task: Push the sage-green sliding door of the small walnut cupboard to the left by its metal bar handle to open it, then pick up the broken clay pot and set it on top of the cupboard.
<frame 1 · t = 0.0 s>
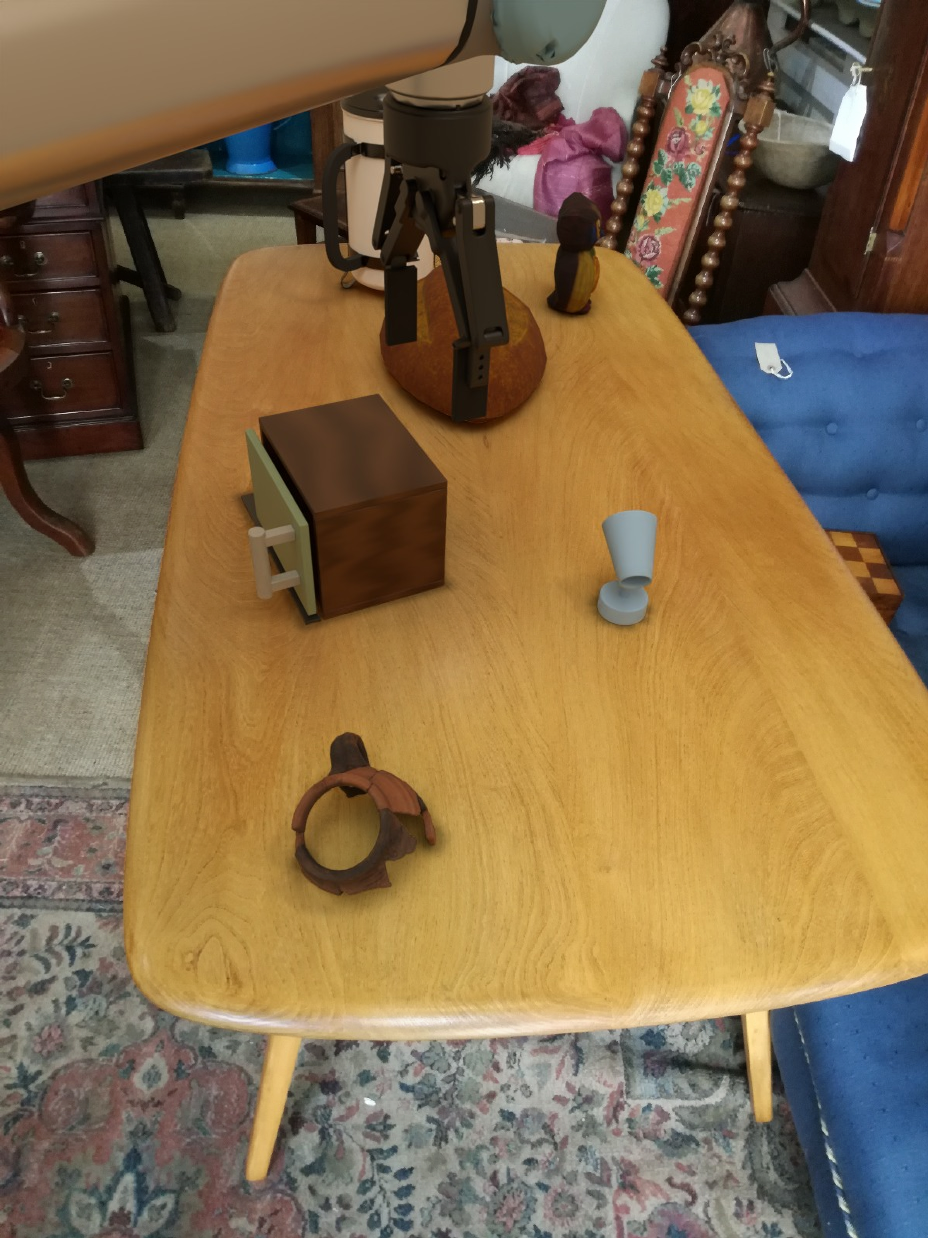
hand: (433, 377, 77), 20 cm above the table, tool pointing down, fingers open, 13 cm apart
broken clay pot: (364, 839, 68), on the table
coffee press: (388, 290, 136), on the table
sliding door: (259, 524, 84), point 6 cm above the table, slide at 0.0 cm
cupboard: (354, 552, 91), on the table
figurine: (570, 309, 134), on the table
spotlight: (620, 607, 87), on the table
bread: (461, 368, 120), on the table
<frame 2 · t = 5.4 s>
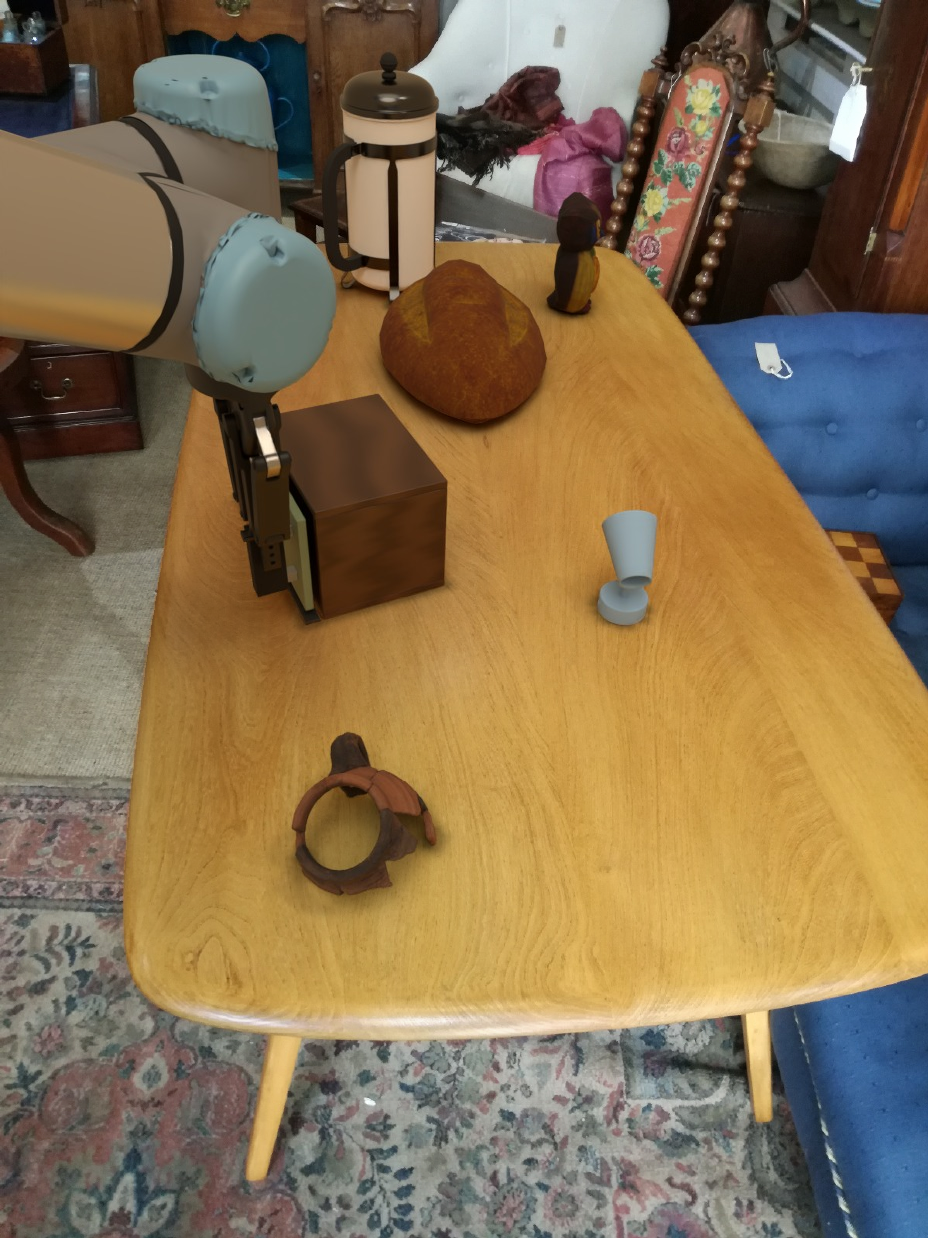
hand: (271, 587, 79), 6 cm above the table, tool pointing down, fingers closed
sliding door: (257, 520, 85), point 6 cm above the table, slide at 0.7 cm, touching gripper
everything else where it was.
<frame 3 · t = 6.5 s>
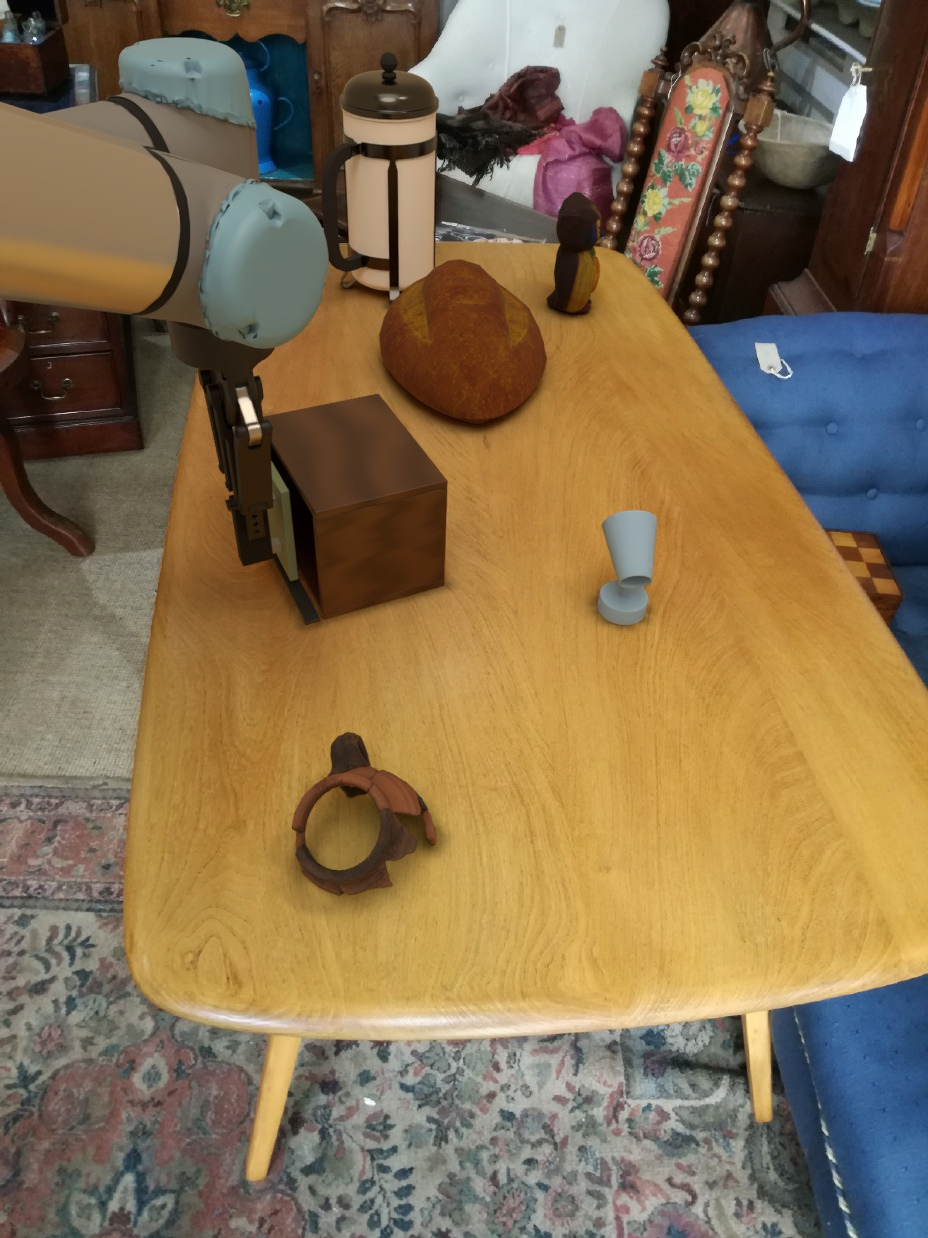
hand: (256, 557, 82), 6 cm above the table, tool pointing down, fingers closed
sliding door: (243, 494, 88), point 6 cm above the table, slide at 5.1 cm, touching gripper
everything else where it was.
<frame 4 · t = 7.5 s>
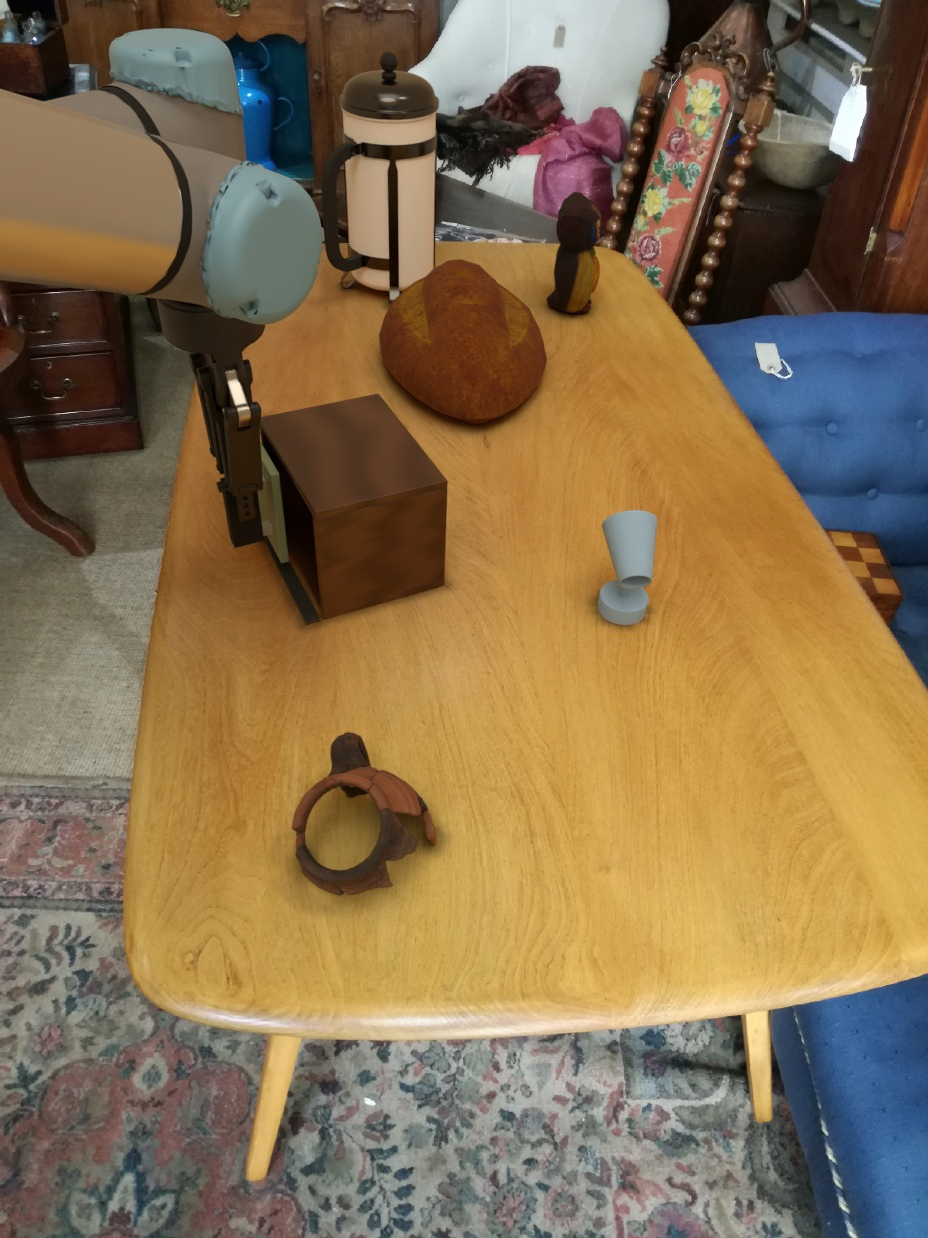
hand: (247, 539, 83), 5 cm above the table, tool pointing down, fingers closed
sliding door: (235, 478, 89), point 6 cm above the table, slide at 7.9 cm, touching gripper
everything else where it was.
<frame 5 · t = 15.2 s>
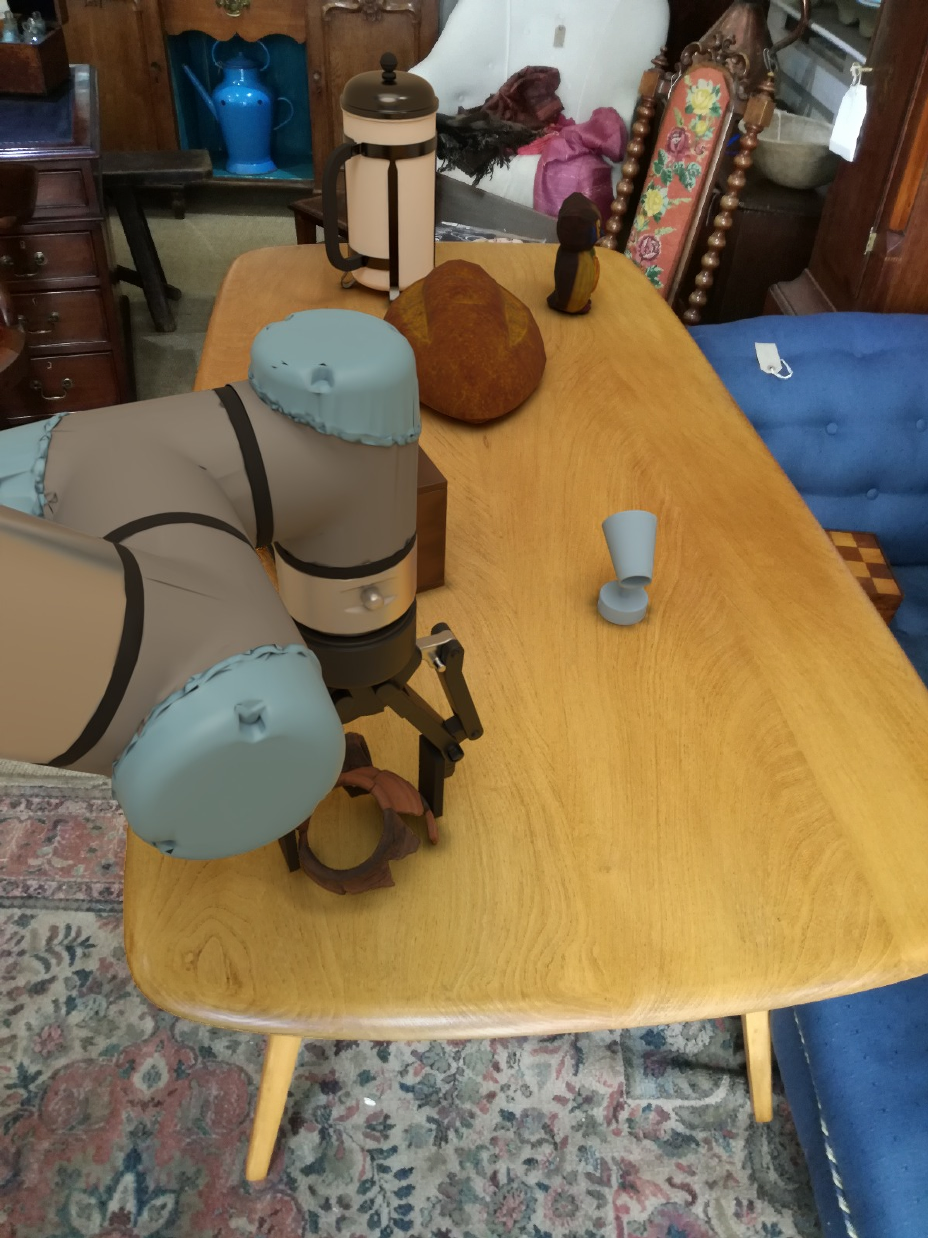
hand: (361, 828, 67), 1 cm above the table, tool pointing down, fingers closed on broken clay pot, 10 cm apart
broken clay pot: (367, 839, 68), on the table, touching gripper
sliding door: (235, 478, 89), point 6 cm above the table, slide at 7.9 cm
everything else where it was.
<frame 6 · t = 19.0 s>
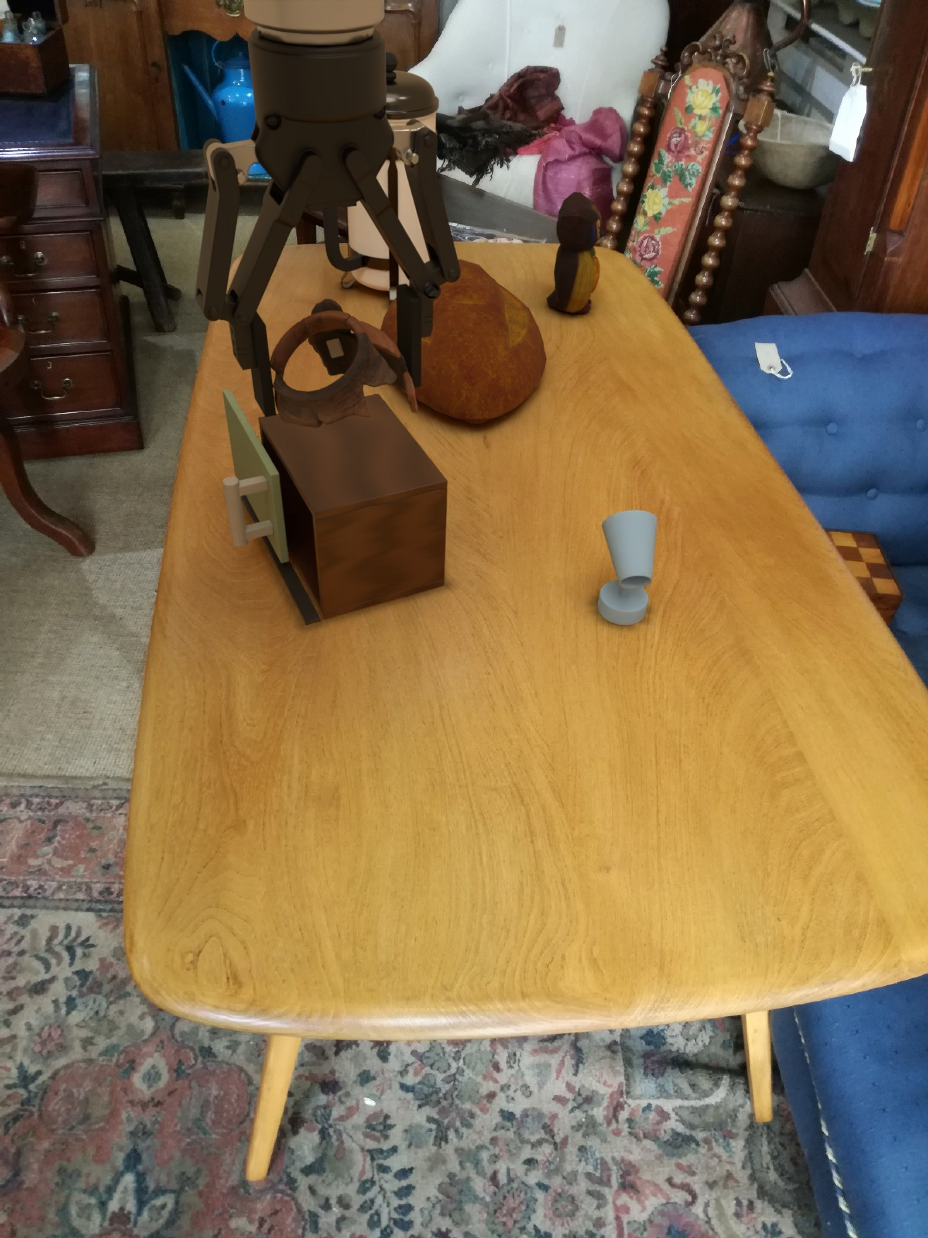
hand: (339, 392, 66), 24 cm above the table, tool pointing down, fingers closed on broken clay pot, 10 cm apart
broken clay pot: (346, 409, 67), point 23 cm above the table, touching gripper
everything else where it was.
when the fingers open (13 cm above the table, at t = 22.8 s): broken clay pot stays where it is, resting on cupboard.
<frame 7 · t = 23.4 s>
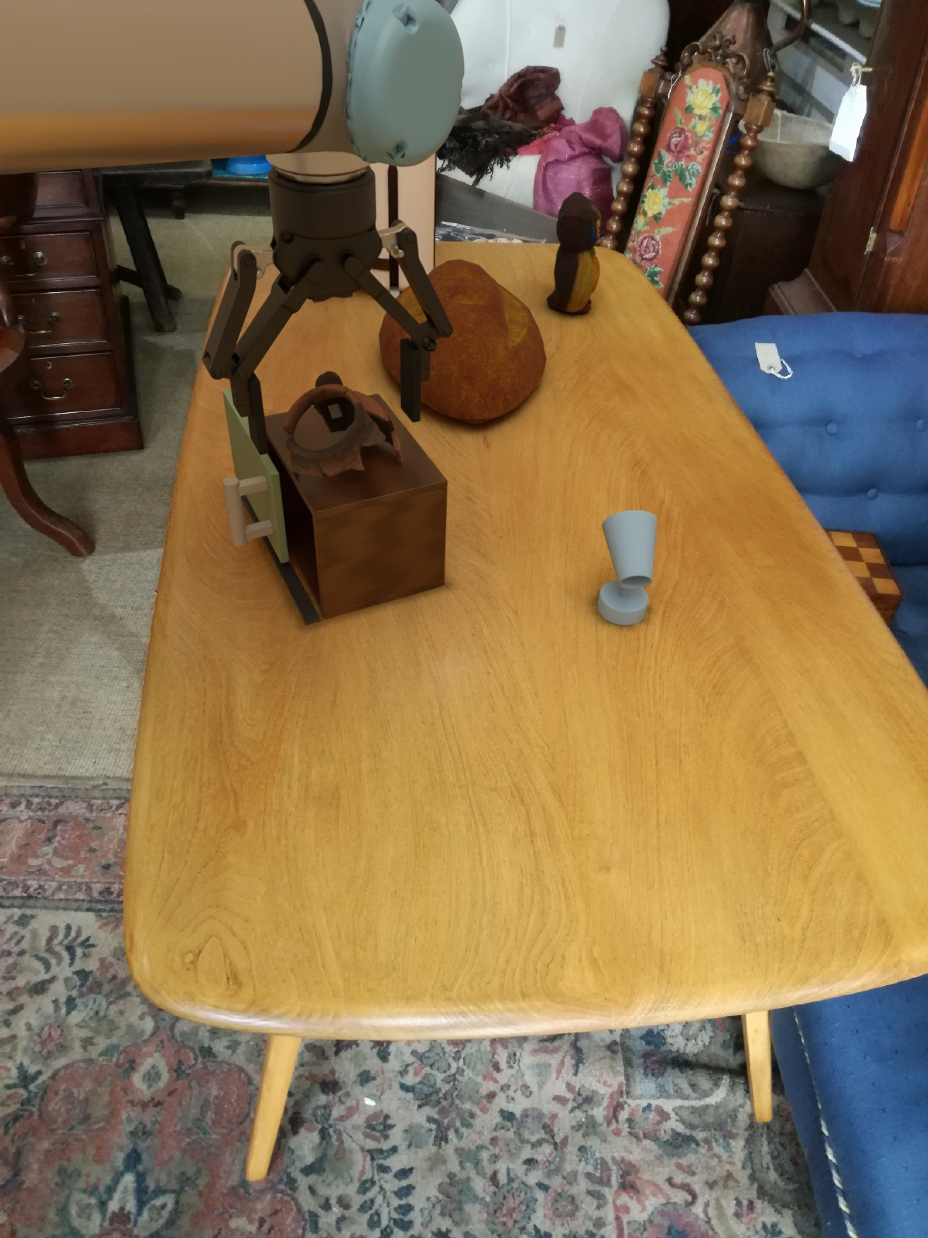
hand: (337, 430, 80), 15 cm above the table, tool pointing down, fingers open, 13 cm apart
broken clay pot: (344, 461, 82), point 12 cm above the table, touching cupboard
everything else where it was.
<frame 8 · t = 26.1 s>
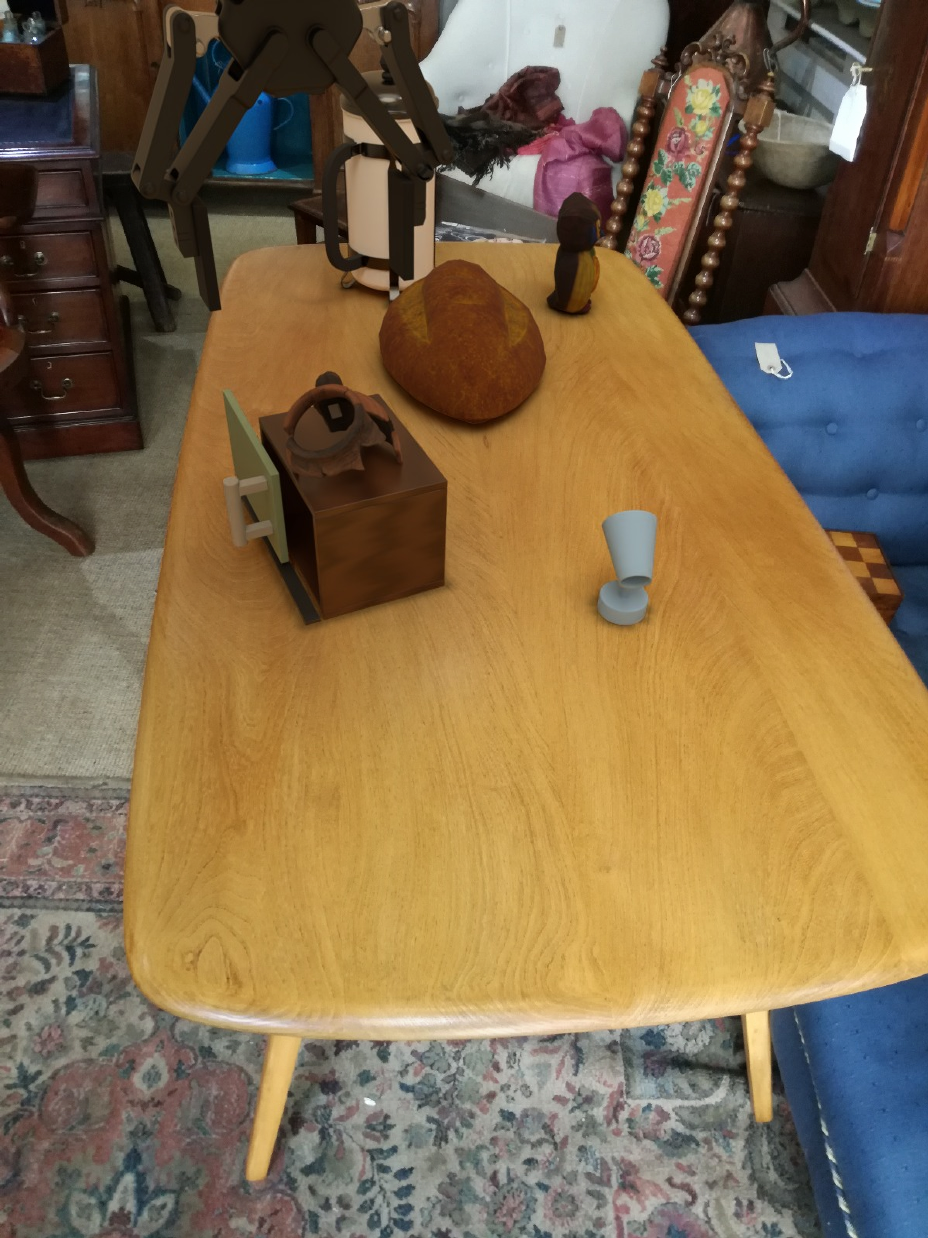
hand: (309, 287, 64), 31 cm above the table, tool pointing down, fingers open, 13 cm apart
nothing on the table moved.
at the end: sliding door slide at 7.9 cm; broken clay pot inside the target area on the cupboard (1.9 cm from its centre), point 11.8 cm above the cupboard's base; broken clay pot tilted 0° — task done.
